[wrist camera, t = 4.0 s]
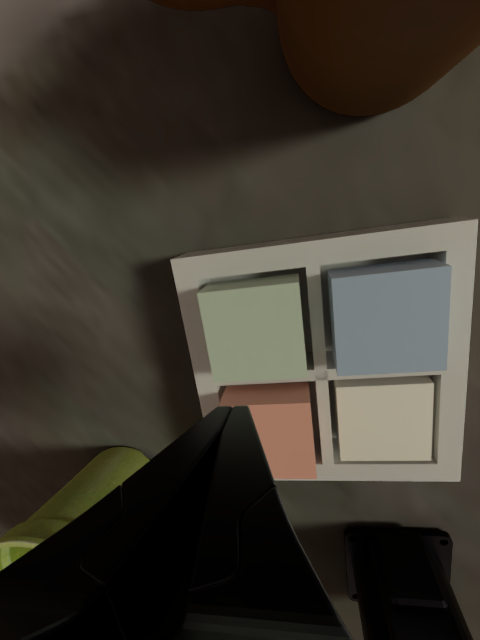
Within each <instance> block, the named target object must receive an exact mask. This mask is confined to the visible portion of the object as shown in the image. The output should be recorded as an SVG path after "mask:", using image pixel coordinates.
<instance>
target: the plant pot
mask: <svg viewBox="0 0 480 640" xmlns="http://www.w3.org/2000/svg"><path fill="white" fill-rule="evenodd" d="M149 461H150V460H149V459H148V458H147V457H145V456H144V455H143V453H142V452H141V451H139V450H136V449H133V448H128V447H113V448H109V449H107V450H104V451H102V452H101V453H100V454H98V455H97V456H96V457H95V458H94V459H93V460H92V461H91V462H90V463H88V464H87V465H86V466H85V467H84V468H83V469H82V470H81V471H80V472H79V473H78V474H77V475H76V476H75V477H74V478H72V479H71V480H70V481H69V482H68V483H67V484H66V485H65V486H64V487H63V488H62V489H60V490H59V491H58V492H57V493H56V494H55V495H54V496H53V497H52V498H51V499H49V500H48V501H47V502H46V503H45V504H44V505H43V506H42V507H41V508H40V509H39V510H37V511H36V512H35V513H34V514H33V515H32V516H31V517H30V518H29V519H27V520H26V521H25V522H22V523H20V524H18V525H16V526H15V527H13V528H12V529H11V530H10V531H8V532H7V533H6V534H5V535H4V536H2V537H1V538H0V571H1V570H2V569H4V568H5V567H7V566H8V565H10V564H11V563H13V562H14V561H15V560H17V559H18V558H20V557H21V556H23V555H24V554H26V553H27V552H28V551H30V550H31V549H33V548H34V547H36V546H37V545H39V544H40V543H41V542H43V541H44V540H46V539H47V538H49V537H50V536H52V535H53V534H54V533H56V532H57V531H59V530H60V529H62V528H63V527H64V526H66V525H67V524H69V523H70V522H71V521H73V520H74V519H75V518H77V517H78V516H80V515H81V514H82V513H84V512H85V511H86V510H88V509H89V508H90V507H92V506H93V505H94V504H96V503H97V502H98V501H99V500H101V499H102V498H103V497H105V496H106V495H107V494H108V493H110V492H111V491H112V490H113V489H115V488H116V487H117V486H118V485H121V486H122V482H124V481H125V480H126V479H127V478H129V477H130V476H131V475H132V474H134V473H135V472H136V471H137V470H139V469H140V468H141V467H142V466H144V465H145V464H146V463H147V462H149Z"/></svg>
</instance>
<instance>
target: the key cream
mask: <svg viewBox="0 0 480 640" xmlns="http://www.w3.org/2000/svg"><path fill="white" fill-rule="evenodd" d="M333 394H334V409H335V423H336V437H337V443H338V448H339V454H340V460H341V461H431V455H432V426H433V398H434V383H433V381H432V380H431V379H430V377H429V376H428V375H422V376H402V377H383V378H363V379H343V380H333Z"/></svg>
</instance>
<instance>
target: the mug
mask: <svg viewBox="0 0 480 640" xmlns="http://www.w3.org/2000/svg"><path fill="white" fill-rule="evenodd" d="M150 1H152V2H155V3H157V4H160V5H162V6H166V7H170V8H174V9H180V10H189V11H200V10H212V9H218V8H224V7H229V6H235V5H243V6H247V7H259V8H264V9H267V10H270V11H272V12H274V13H276V15H277V23H278V32H279V38H280V42H281V47H282V51H283V55H284V58H285V60H286V63H287V66H288V68H289V70H290V72H291V74H292V76H293V78H294V79H295V81H296V82H297V84H298V85H299V86H300V88H301V89H302V90H303V91H304V92H305V93H306V94H307V95H308V96H309V98H311V99H312V100H313V101H314V102H316V103H317V104H318V105H320V106H322V107H324V108H325V109H327V110H329V111H332V112H335V113H338V114H342V115H347V116H360V117H361V116H372V115H377V114H381V113H385V112H388V111H391V110H393V109H396V108H399V107H401V106H402V105H404V104H406V103H408V102H410V101H412V100H413V99H415V98H416V97H418V96H419V95H421V94H422V93H423V92H425V91H426V90H428V89H429V88H430V87H431V86H432V85H434V84H435V83H436V82H437V81H438V80H439V79H441V78H442V77H443V76H444V75H445V74H446V73H447V72H448V71H450V70H451V69H452V68H453V67H454V66H456V65H457V64H458V63H459V62H460V61H461V60H463V59H464V58H465V57H466V56H467V55H468V54H470V53H471V52H472V51H473V50H474V49H475V48H477V47H478V46H479V45H480V0H150Z"/></svg>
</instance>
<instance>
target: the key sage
mask: <svg viewBox="0 0 480 640" xmlns="http://www.w3.org/2000/svg"><path fill="white" fill-rule="evenodd" d="M197 297H198V302H199V307H200V313H201V318H202V323H203V328H204V334H205V339H206V344H207V350H208V355H209V360H210V366H211V371H212V376H213V381H214V383H219V382H238V381H257V380H276V379H295V378H308V375H307V361H306V350H305V339H304V328H303V317H302V306H301V296H300V285H299V274H298V273H296V274H287V275H279V276H270V277H261V278H252V279H243V280H235V281H226V282H217V283H208V284H207V285H206V286H205V287H204V288H202V289H201V290H200V291H199V292H198V293H197Z"/></svg>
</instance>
